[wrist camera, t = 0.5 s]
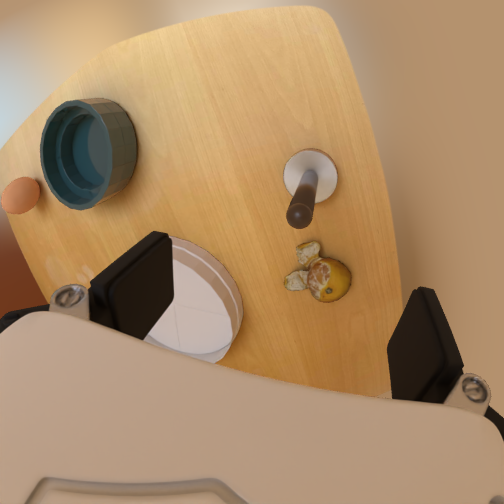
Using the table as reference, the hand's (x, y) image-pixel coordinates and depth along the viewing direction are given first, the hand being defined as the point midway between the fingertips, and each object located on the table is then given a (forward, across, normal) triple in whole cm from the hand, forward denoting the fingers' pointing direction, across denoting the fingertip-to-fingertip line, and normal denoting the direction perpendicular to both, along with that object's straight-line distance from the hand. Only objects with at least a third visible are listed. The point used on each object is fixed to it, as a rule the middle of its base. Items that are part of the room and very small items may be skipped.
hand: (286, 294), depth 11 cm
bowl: (+26, +32, +1) cm, 41 cm away
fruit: (+26, -2, +13) cm, 29 cm away
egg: (+26, +50, +8) cm, 57 cm away
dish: (+26, +18, +24) cm, 39 cm away
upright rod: (+26, 0, +1) cm, 26 cm away
